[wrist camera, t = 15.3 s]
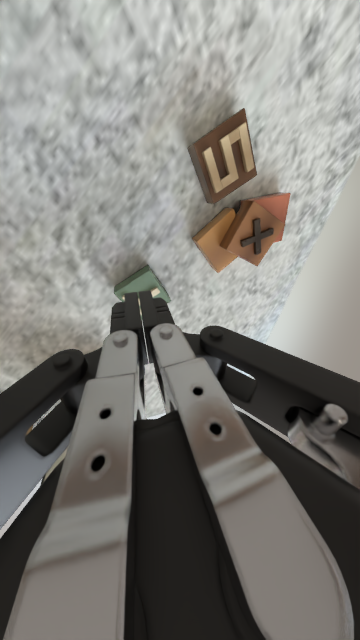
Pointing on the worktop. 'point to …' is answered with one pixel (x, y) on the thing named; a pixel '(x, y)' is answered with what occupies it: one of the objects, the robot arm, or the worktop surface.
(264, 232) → the letter pile
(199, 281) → the worktop surface
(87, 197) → the worktop surface
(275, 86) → the worktop surface
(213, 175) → the letter S
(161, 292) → the letter T
